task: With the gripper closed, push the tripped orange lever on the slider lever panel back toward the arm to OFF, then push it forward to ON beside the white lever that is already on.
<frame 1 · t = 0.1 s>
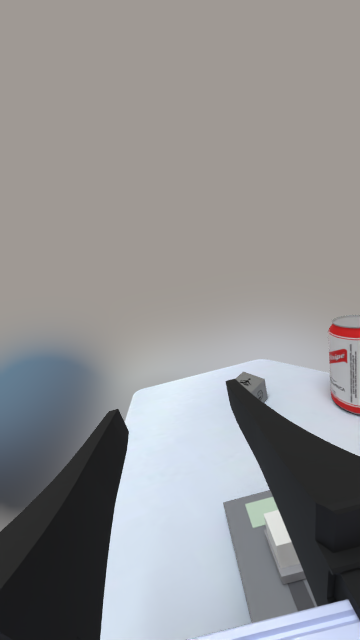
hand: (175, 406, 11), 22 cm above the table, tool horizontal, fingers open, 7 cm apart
dice cube: (250, 401, 38), on the table
beer can: (354, 404, 31), on the table
white lever: (282, 541, 16), point 4 cm above the table, slide at 3.5 cm
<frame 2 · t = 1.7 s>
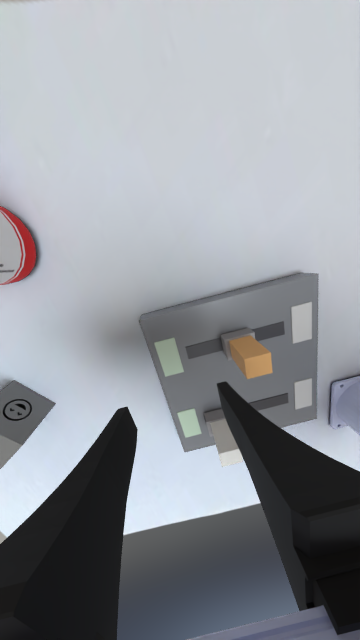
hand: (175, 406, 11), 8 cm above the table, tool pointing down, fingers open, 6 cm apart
dice cube: (26, 404, 20), on the table
slider lever panel: (234, 366, 20), on the table
beer can: (6, 246, 15), on the table
orange lever: (245, 351, 15), point 4 cm above the table, slide at 0.0 cm
white lever: (223, 435, 18), point 4 cm above the table, slide at 3.5 cm
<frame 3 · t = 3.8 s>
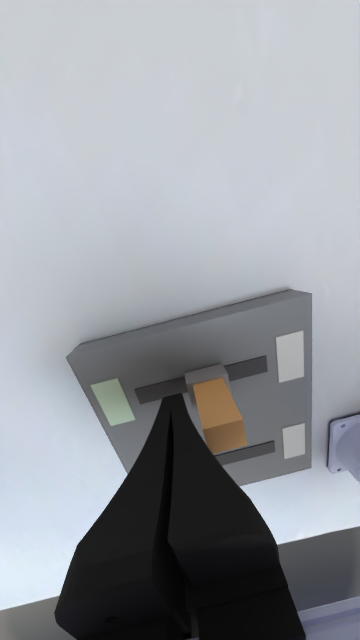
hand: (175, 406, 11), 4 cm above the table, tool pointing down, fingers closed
slider lever panel: (207, 404, 16), on the table
orange lever: (213, 403, 11), point 4 cm above the table, slide at -0.3 cm, touching gripper
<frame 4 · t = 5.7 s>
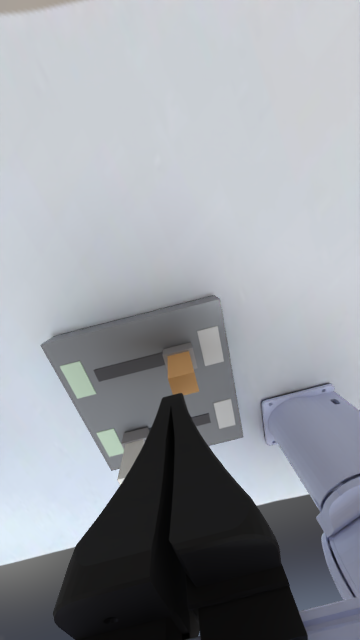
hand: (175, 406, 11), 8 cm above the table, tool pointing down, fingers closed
slider lever panel: (158, 385, 20), on the table
orange lever: (181, 368, 15), point 4 cm above the table, slide at -3.6 cm
white lever: (135, 457, 18), point 4 cm above the table, slide at 3.5 cm
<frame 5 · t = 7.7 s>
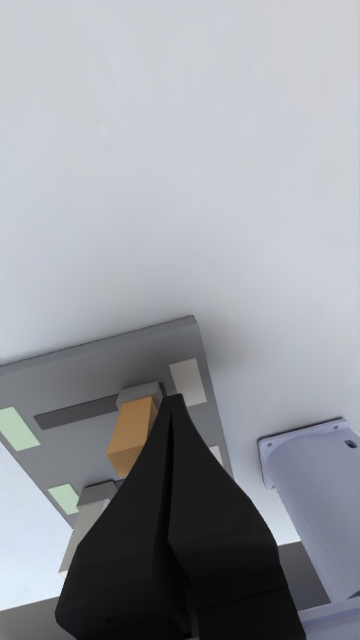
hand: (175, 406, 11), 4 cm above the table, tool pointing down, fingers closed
slider lever panel: (127, 425, 16), on the table
orange lever: (139, 423, 11), point 4 cm above the table, slide at -3.3 cm, touching gripper
white lever: (92, 527, 14), point 4 cm above the table, slide at 3.5 cm
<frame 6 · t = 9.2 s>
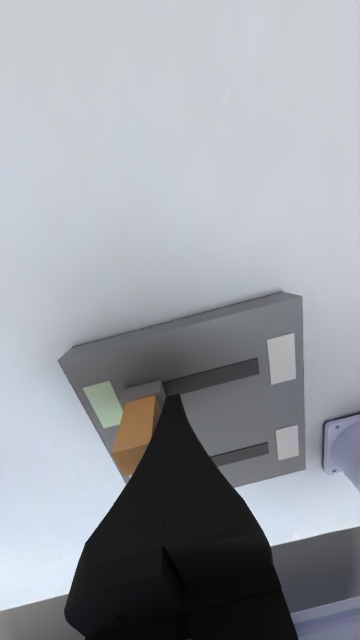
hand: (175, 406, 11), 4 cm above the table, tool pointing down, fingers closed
slider lever panel: (201, 406, 16), on the table
orange lever: (142, 422, 11), point 4 cm above the table, slide at 3.7 cm, touching gripper
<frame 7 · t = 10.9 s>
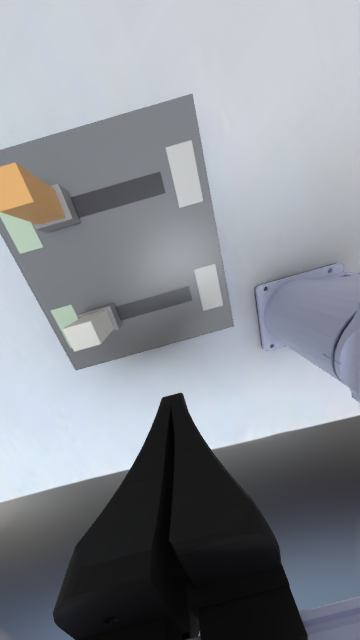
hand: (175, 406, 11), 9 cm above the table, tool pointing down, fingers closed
slider lever panel: (127, 259, 17), on the table
orange lever: (36, 202, 11), point 4 cm above the table, slide at 3.6 cm
white lever: (94, 326, 14), point 4 cm above the table, slide at 3.5 cm
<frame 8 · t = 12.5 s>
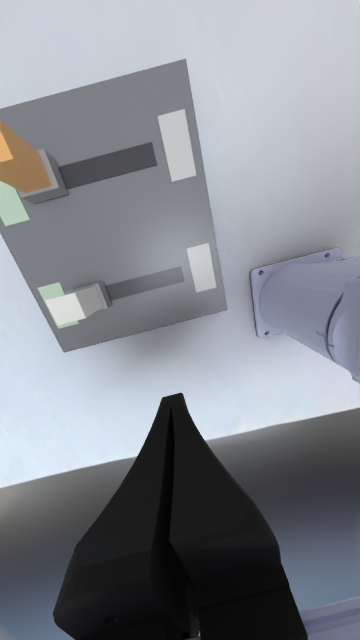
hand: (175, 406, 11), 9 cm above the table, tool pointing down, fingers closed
slider lever panel: (118, 238, 16), on the table
orange lever: (19, 166, 11), point 4 cm above the table, slide at 3.6 cm
white lever: (81, 302, 14), point 4 cm above the table, slide at 3.5 cm
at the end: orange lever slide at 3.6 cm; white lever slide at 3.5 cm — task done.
